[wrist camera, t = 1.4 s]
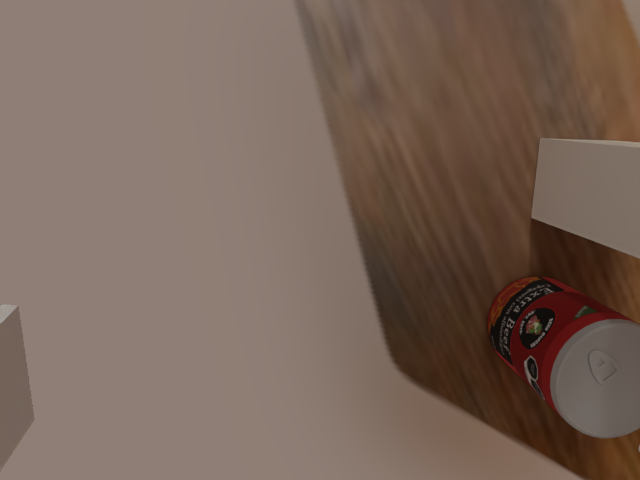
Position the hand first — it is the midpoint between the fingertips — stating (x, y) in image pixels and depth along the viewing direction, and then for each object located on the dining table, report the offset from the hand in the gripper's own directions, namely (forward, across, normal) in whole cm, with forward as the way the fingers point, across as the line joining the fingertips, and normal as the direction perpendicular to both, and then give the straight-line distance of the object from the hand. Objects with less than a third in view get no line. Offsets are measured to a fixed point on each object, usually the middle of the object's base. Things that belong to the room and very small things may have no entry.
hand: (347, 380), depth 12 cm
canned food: (+31, +18, -15) cm, 39 cm away
